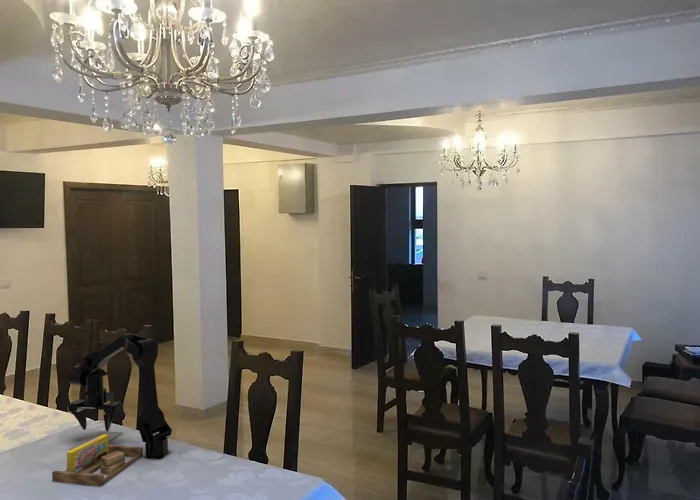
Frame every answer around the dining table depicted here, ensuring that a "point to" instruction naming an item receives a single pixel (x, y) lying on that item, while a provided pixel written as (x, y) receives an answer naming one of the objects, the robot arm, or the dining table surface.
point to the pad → (110, 436)
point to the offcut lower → (110, 468)
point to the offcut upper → (112, 459)
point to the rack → (98, 478)
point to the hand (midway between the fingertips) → (96, 430)
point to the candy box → (87, 454)
